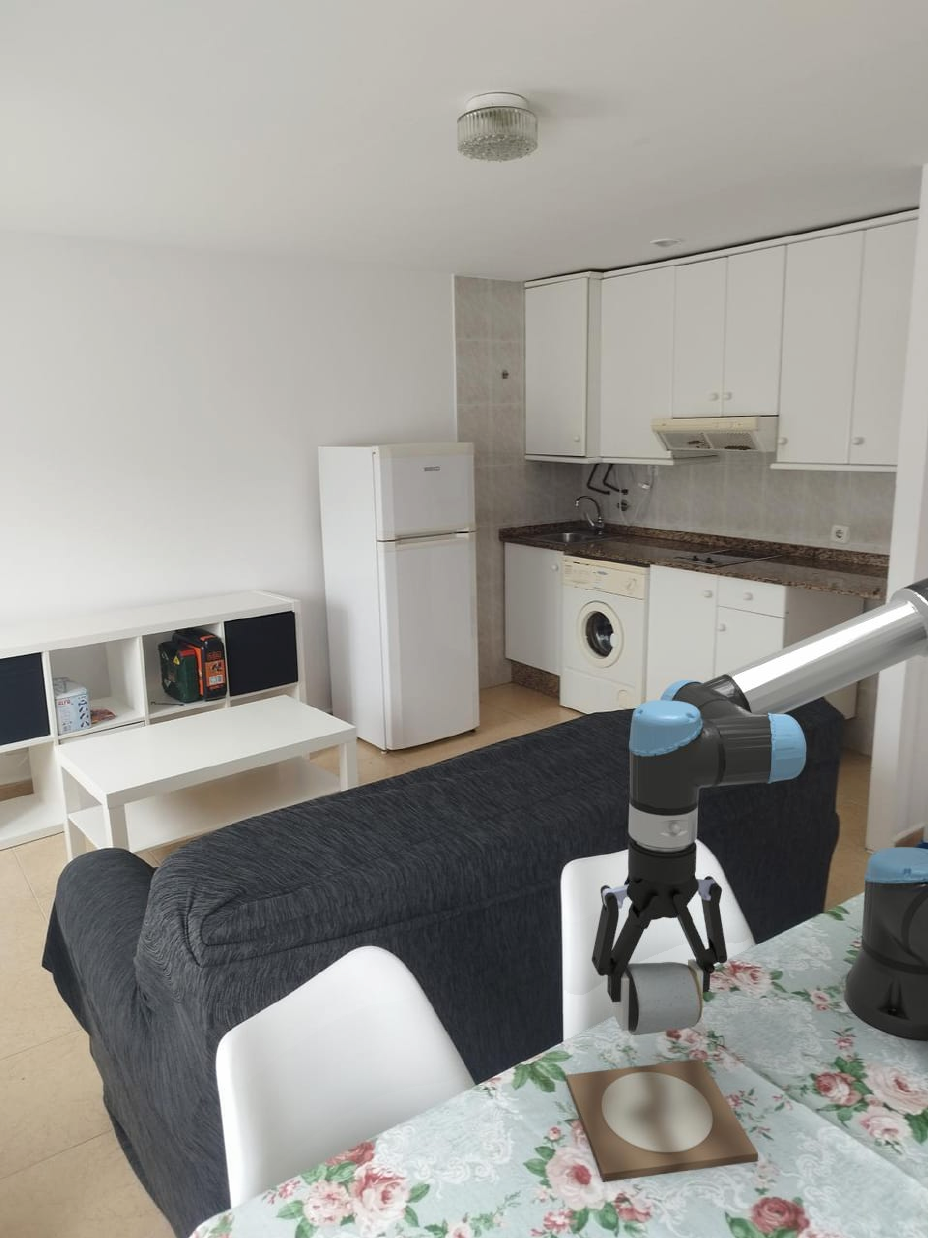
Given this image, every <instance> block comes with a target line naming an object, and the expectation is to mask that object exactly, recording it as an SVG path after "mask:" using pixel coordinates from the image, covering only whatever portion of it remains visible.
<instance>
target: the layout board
mask: <svg viewBox="0 0 928 1238" xmlns="http://www.w3.org/2000/svg"><path fill="white" fill-rule="evenodd" d="M565 1076H566V1077H565V1078H566V1085H567V1087H568V1089H569V1093H570V1095H571V1098H572V1100H573V1104H574V1106H575V1109H576V1111H577V1114H578V1117H579V1120H580V1122H581V1125H582V1128H583V1131H584V1134H585V1136H586V1139H587V1142H588V1144H589V1147H590V1149H591V1152H592V1155H593V1158H594V1160H595V1163H596V1166H597V1169H598V1171H599V1175H600V1177H601V1180H602V1182H610V1181H611V1182H612V1181H619V1180H626V1179H632V1178H640V1177H647V1176H648V1177H649V1176H655V1175H662V1174H663V1175H664V1174H670V1173H677V1172H685V1171H692V1170H700V1169H706V1168H713V1167H715V1168H716V1167H721V1166H727V1165H728V1166H729V1165H737V1164H743V1163H745V1164H746V1163H750V1162H751V1163H752V1162H758V1161H759V1159H758V1157H759V1152H758V1151H757V1149H756V1148H755V1146H754V1144H753V1143H752V1141H751V1139H750V1138H749V1136H748V1134H747V1133H746V1130H745V1129H744V1128H743V1125H742V1124H741V1123H740V1121H739V1119H738V1117H737V1116H736V1114H735V1112H734V1111H733V1109H732V1108H731V1106H730V1103H728V1101H727V1099H726V1097H725V1096H724V1094H723V1092H722V1091H721V1089H720V1088H719V1086H718V1084H717V1082H716V1081H715V1079H714V1078H713V1076H712V1074H711V1072H710V1070H708V1067H707V1066H706V1064H705V1063H704V1061H703V1059H702V1058H697V1059H689V1060H679V1061H671V1062H663V1063H662V1062H661V1063H654V1064H644V1065H637V1066H630V1067H629V1066H627V1067H622V1068H621V1067H619V1068H613V1069H605V1070H603V1069H602V1070H597V1071H588V1072H579V1073H570V1074H566V1075H565Z"/></svg>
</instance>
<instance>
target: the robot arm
mask: <svg viewBox="0 0 928 1238" xmlns="http://www.w3.org/2000/svg"><path fill="white" fill-rule="evenodd" d="M916 656H921V657H922V658H923V657H924V658H928V577H926V578H923V579H920V580H918V581H916V582H914V583H912V584H909V585H907V586H905V587H902V588H899V589H898V590H896V591H894V592H893V593H892V595H891V597H890V600H889V602H887V603H884V604H883V605H881V606H880V605H879V606H878V607H876V608H874V609H871V610H870V611H866V612H865V613H862V614H860V615H858V616H855V617H853V618H851V619H848V620H846V621H844V622H842V623H840V624H837V625H834V626H832V627H829V628H828V629H825V630H823V631H820V632H819V633H815V634H814V635H811V636H810V637H809V636H808V637H807V638H805V639H802V640H800V641H798V642H795V643H793V644H791V645H789V646H786V647H784V648H782V649H779V650H777V651H775V652H772V653H770V654H768V655H765V656H763V657H761V658H759V659H756V660H754V661H752V662H749V663H747V664H745V665H742V666H739V667H738V668H736V669H734V670H731V671H728V672H727V673H724V674H722V675H720V676H717V677H714V678H712V679H709V680H707V681H705V682H701V681H699V680H692V679H681V680H678V681H676V682H673V683H672V684H671V685H669V686H668V687H667V688H666V689H665V690H664V691H663V693H662V694H661V697H660V699H659V700H652V701H650V700H649V701H646V702H644V703H641V704H640V705H638V706H636V708H635V709H634V710H633V712H632V716H631V724H630V734H629V742H628V748H629V807H628V809H629V810H628V835H629V836H630V837H629V838H628V848H627V849H628V851H627V852H628V853H627V878H626V879H625V881H624V882H623V883H624V884H623V885H619V886H616V887H612V888H611V887H610V886H609V885H608V884H605V885H603V886H601V888H600V898H601V901H602V903H601V904H602V906H601V909H600V910H601V911H600V915H599V921H598V926H597V931H596V936H595V941H594V946H593V951H592V956H591V962H592V964H593V966H594V968H595V970H596V973H597V974H598V976H601V977H603V976H607V991H606V992H607V994H608V997H609V998H610V1000H611V1002H612V1003H614V1018H615V1021H616V1022H617V1024H618V1026H619V1028H620V1030H621V1032H628V1014H629V978H628V977H627V975H626V973H625V970H626V967H627V965H628V964H629V963H630V960H631V958H632V957H633V955H634V953H635V950H636V948H637V946H638V943H639V942H640V939H641V937H642V935H643V933H644V931H645V930H647V929H648V928H649V926H650V923H652V921H653V920H654V921H655V920H659V919H662V918H667V919H676V918H677V921H678V923H679V926H680V927H681V930H682V932H683V934H684V936H685V939H686V940H687V943H688V945H689V947H690V949H691V951H692V954H693V955H694V957H695V958H692V959H687V965H688V966H689V967H690V968H691V969H692V970H693V971H694V973H695V975H696V977H697V979H698V981H699V985H700V988H701V993H702V996H703V994H706V993H709V991H710V987H711V986H710V985H711V974H713V973H714V972H715V970H716V967H715V965H716V964H718V963H719V964H725V963H726V962H727V961H728V954H727V946H726V941H725V933H724V928H723V927H724V926H723V920H722V915H721V908H720V903H721V899H722V893H723V888H722V886H721V885H720V884H719V883H718V882H717V881H716V880H715V879H714V877H713V876H711V875H709V876H705V877H704V879H700V878H697V876H696V871H697V849H698V848H697V846H698V845H697V843H696V839H697V837H698V813H699V811H698V809H699V808H698V807H699V794H700V789H701V788H712V787H713V788H716V787H720V786H721V787H723V786H734V785H735V786H737V785H738V786H739V785H750V784H763V783H764V784H771V783H773V782H779V781H786V780H792V779H794V778H797V777H798V776H799V775H800V774H801V773H802V771H803V770H804V767H805V765H806V761H807V758H806V757H807V743H806V742H807V741H806V737H805V733H804V732H803V729H802V728H801V726H800V724H799V723H798V721H797V720H796V719H795V718H794V717H792V716H791V715H789V714H785V713H787V712H789V711H793V710H794V709H797V708H798V707H801V706H803V705H806V704H808V703H810V702H813V701H815V700H818V699H820V698H822V697H824V696H827V695H830V694H831V693H833V692H836V691H838V690H840V689H843V688H844V687H847V686H850V685H852V684H854V683H856V682H858V681H862V680H863V679H865V678H869V677H870V676H872V675H875V674H878V673H879V672H882V671H884V670H887V669H888V668H890V667H893V666H895V665H898V664H900V663H902V662H905V661H906V660H909V659H911V658H913V657H916ZM866 864H867V866H866V870H865V875H864V877H863V880H864V893H863V894H864V896H863V898H864V899H863V910H862V911H863V912H862V927H861V928H862V930H861V944H860V948H859V951H858V952H857V954H856V957H855V959H854V961H853V963H852V966H851V968H850V970H849V972H848V973H847V975H846V978H845V982H844V983H845V984H844V999H845V1002H846V1004H847V1005H848V1007H849V1008H850V1010H852V1012H853V1013H854V1014H855V1015H856V1016H857V1017H859V1018H860V1019H861V1020H862V1021H864V1022H866V1023H867V1024H869V1025H871V1026H873V1027H875V1028H877V1029H878V1030H881V1031H883V1032H886V1033H888V1034H891V1035H894V1036H899V1037H903V1038H907V1039H913V1040H925V1041H926V1040H927V1041H928V849H926V848H919V847H908V846H903V847H902V846H898V847H896V846H895V847H889V848H882V849H880V850H877V851H875V852H874V853H872V854H871V856H870V857H869V858H868V859H867V863H866ZM696 894H698V895H699V897H700V898H701V899H700V900H701V906H702V913H703V919H704V926H705V931H706V937H707V938H706V939H707V943H708V948H706V947H705V944H704V941H703V940H702V938H701V935H700V934H699V931H698V929H697V926H696V925H695V922H694V919H693V916H692V914H691V912H690V910H689V908H688V905H689V903H690V902H691V901H692V899H694V896H695V895H696ZM627 898H628V899H629V900H630V901H631V904H630V906H629V908H628V912H627V914H628V915H627V918H626V919H625V922H624V924H623V926H622V928H621V931H620V933H619V935H618V937H617V939H616V941H615V937H616V934H617V933H616V931H617V927H618V924H619V923H618V922H619V916H620V909H622V908H623V904H624V900H625V899H627ZM614 942H615V943H614ZM702 1017H703V1014H702V1015H701V1018H700V1020H699V1022H698V1023H697V1024H701V1023H702Z"/></svg>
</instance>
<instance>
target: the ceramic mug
mask: <svg viewBox="0 0 928 1238" xmlns="http://www.w3.org/2000/svg"><path fill="white" fill-rule="evenodd" d="M625 973H626V975H627V977H628V978H629V1014H628V1031H627V1032H628V1033H629V1034H630V1035H632V1036H640V1035H641V1036H642V1035H648V1034H656V1033H657V1034H658V1033H664V1032H671V1031H672V1032H674V1031H682V1030H686V1029H689V1028H692V1027H694V1026H696V1025H697V1024H699V1023H698V1022H699V1020H700V1018H701V1015H702V1016H703V995H702V993H701V988H700V985H699V981H698V979H697V977H696V975H695V973H694V971H693V970H692V969H691V968H690V967H689V966H688V964H687V963H682V962H677V961H675V962H674V961H665V962H645V963H644V962H640V963H639V962H636V963H630V962H629V963H628V965H627V967H626V970H625Z"/></svg>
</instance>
